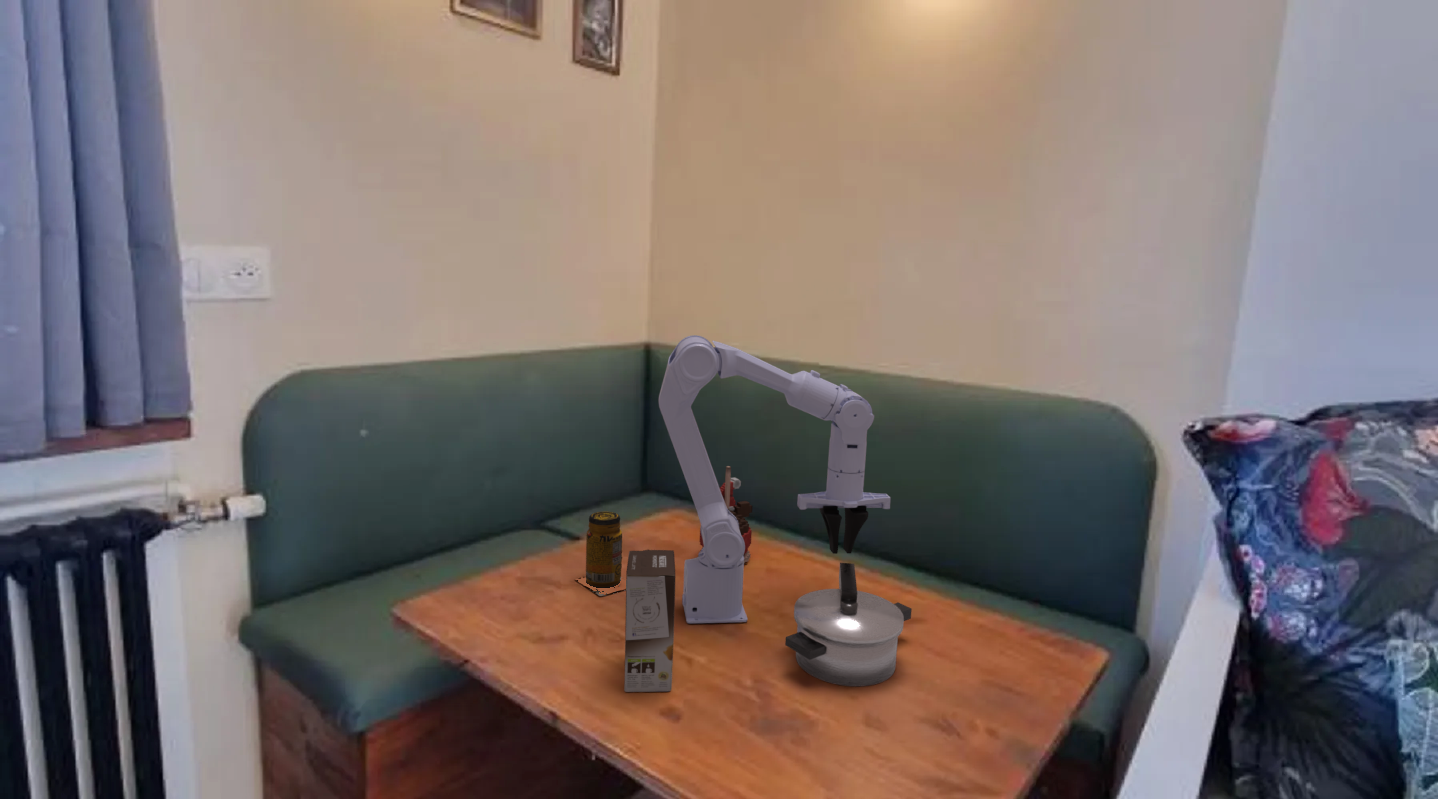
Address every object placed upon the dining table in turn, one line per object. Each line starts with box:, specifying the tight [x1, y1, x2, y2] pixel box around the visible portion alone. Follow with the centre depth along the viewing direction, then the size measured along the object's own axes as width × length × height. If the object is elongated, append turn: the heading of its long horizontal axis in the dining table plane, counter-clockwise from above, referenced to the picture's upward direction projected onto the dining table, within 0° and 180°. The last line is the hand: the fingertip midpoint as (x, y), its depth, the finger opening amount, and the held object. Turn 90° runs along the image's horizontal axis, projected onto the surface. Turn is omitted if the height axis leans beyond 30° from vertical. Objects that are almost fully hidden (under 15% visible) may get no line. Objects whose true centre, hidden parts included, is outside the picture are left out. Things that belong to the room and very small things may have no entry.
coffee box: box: [623, 549, 676, 693], centre depth 105 cm, size 9×6×16 cm
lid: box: [793, 562, 905, 646], centre depth 113 cm, size 20×15×4 cm
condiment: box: [585, 510, 623, 597], centre depth 134 cm, size 7×8×12 cm
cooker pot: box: [784, 602, 913, 687], centre depth 113 cm, size 22×14×6 cm, turn 128°
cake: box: [699, 465, 754, 564], centre depth 146 cm, size 11×9×18 cm
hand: (840, 551), depth 125 cm, fingers closed
